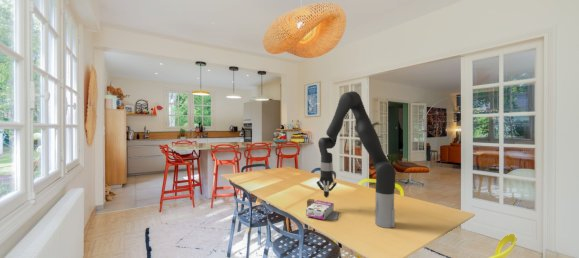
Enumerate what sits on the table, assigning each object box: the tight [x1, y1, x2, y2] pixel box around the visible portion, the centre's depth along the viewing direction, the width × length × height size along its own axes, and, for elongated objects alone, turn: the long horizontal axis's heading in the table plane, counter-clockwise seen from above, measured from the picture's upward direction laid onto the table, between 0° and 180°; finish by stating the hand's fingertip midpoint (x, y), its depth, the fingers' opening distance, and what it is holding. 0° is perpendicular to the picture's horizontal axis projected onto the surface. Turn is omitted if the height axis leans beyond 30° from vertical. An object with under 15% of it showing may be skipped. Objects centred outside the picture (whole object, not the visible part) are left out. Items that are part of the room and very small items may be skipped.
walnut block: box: [306, 198, 315, 208], centre depth 156 cm, size 4×4×4 cm
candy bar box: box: [305, 200, 335, 220], centre depth 140 cm, size 11×5×16 cm
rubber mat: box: [307, 210, 340, 221], centre depth 140 cm, size 16×12×1 cm
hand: (326, 197), depth 148 cm, fingers closed
